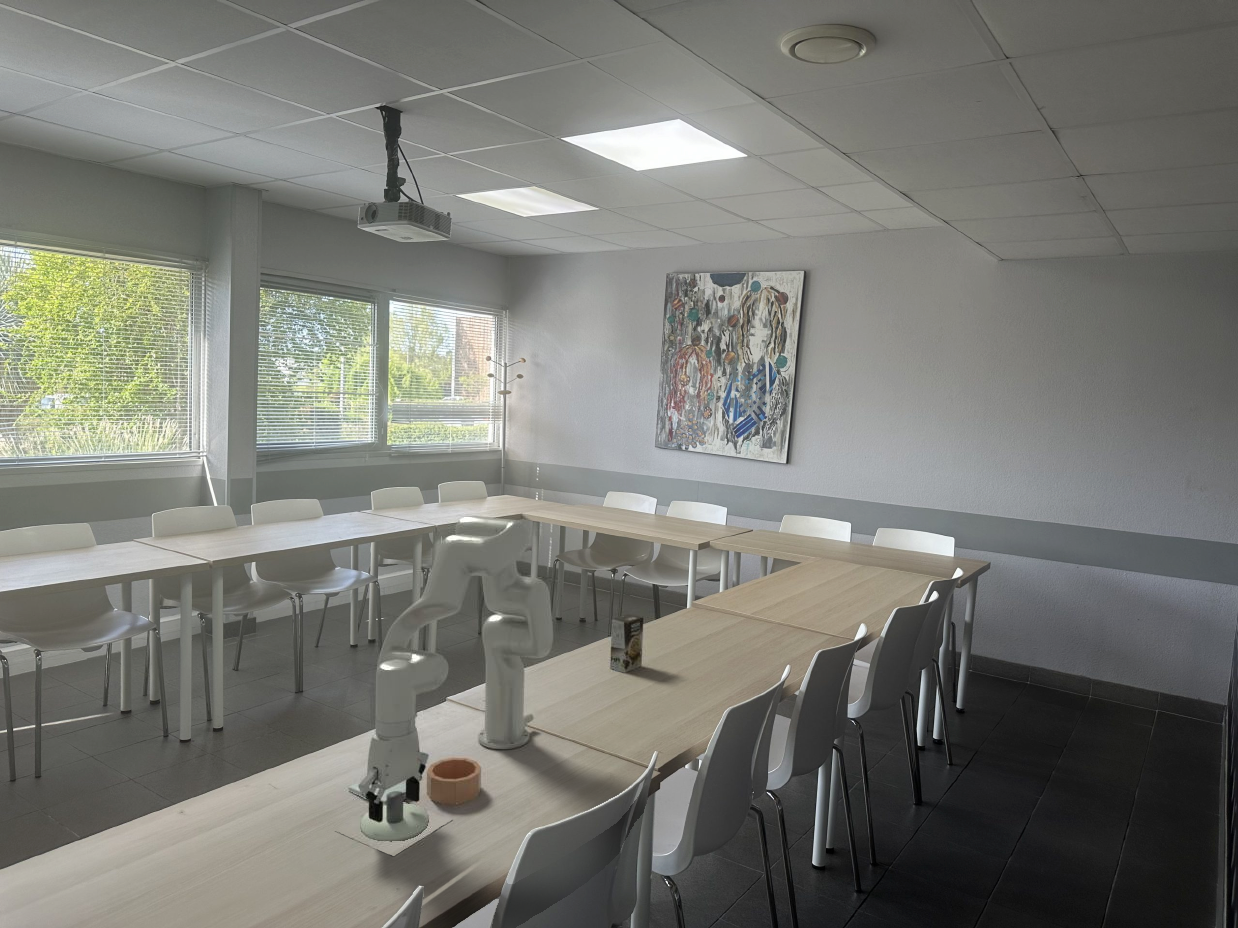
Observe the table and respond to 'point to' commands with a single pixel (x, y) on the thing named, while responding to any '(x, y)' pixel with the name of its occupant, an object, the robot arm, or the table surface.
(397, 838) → the lid
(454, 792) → the bowl
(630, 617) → the coffee box
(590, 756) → the table surface
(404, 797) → the hard drive
